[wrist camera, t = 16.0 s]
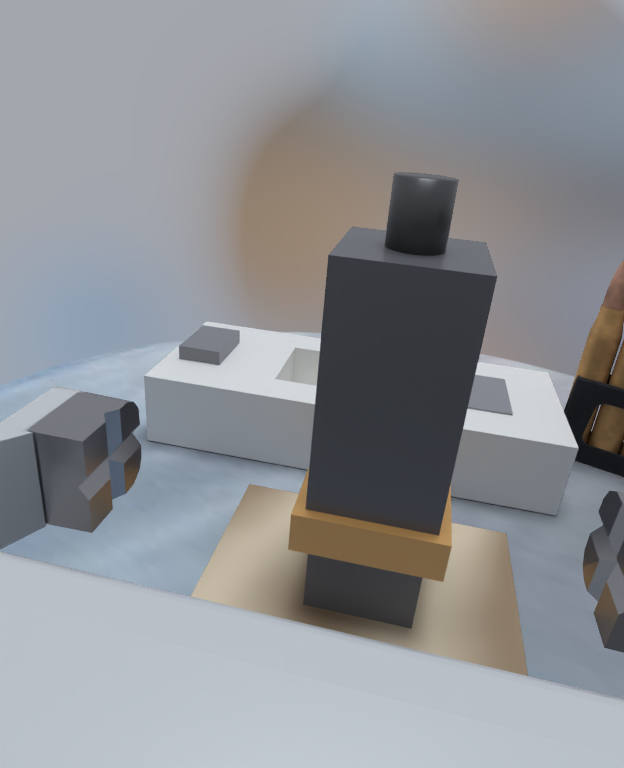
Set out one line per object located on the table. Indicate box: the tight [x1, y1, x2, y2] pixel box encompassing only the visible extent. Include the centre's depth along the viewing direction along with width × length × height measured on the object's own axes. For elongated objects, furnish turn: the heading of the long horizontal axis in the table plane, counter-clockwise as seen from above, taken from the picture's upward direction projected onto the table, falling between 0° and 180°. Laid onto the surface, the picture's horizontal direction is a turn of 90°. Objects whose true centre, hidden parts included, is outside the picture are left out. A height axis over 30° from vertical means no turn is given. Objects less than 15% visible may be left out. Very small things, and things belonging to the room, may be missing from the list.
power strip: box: [144, 322, 579, 516], centre depth 33 cm, size 22×9×5 cm, turn 78°
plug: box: [288, 173, 497, 629], centre depth 19 cm, size 5×5×15 cm
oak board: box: [191, 484, 528, 676], centre depth 23 cm, size 12×9×1 cm
